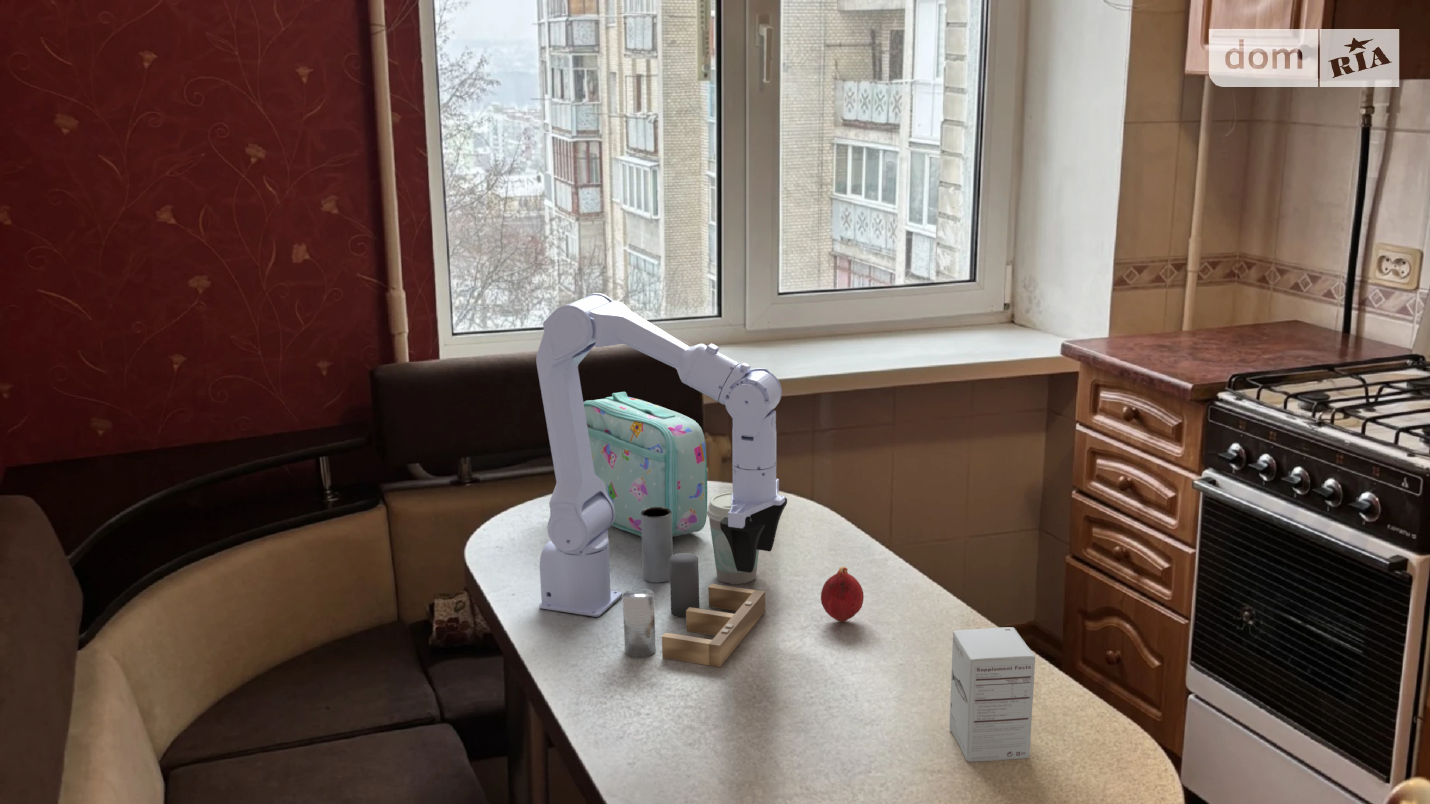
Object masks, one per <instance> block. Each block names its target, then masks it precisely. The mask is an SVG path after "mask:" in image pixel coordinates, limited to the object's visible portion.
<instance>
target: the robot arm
mask: <svg viewBox="0 0 1430 804" xmlns="http://www.w3.org/2000/svg"><path fill="white" fill-rule="evenodd" d="M542 327H543V334H542V337H541V341H540V344H539V346H538V349H537V350H538V351H537V353H536V357H535V358H536V360H535V361H536V362H535V363H536V368H537V369H536V370H537V375H538V380H539V388H540V391H541V392H540V393H541V399H542V404H543V410H544V416H545V421H546V422H545V423H546V428H547V434H548V440H549V446H550V452H551V458H552V464H553V469H554V471H553V472H554V475H555V481H556V482H555V483H556V484H555V487H554V489H553V491H552V495H551V497H550V500H549V502H548V504H549V512H550V513H549V518H548V521H547V535H548V539H549V540H548V541H547V542H546V544H545V545H544V547H543V548H542V550H541V554H540V558H539V579H540V580H539V581H540V596H541V602H540V603H539V604H538V607H539V609H543V610H550V611H555V612H561V613H562V612H563V613H569V614H575V615H581V616H589V617H595V618H598V617H600V616H601V615H603V614H604V613H605V612H606V611H607V610H608V609H609V608H610V607H612V606H613V605H614V604H615V602H617V601H618V600H619V599H620V598H621V597H623V592H621V591H616V590H612V589H611V569H610V565H611V564H610V544H609V530H608V529H609V528H611V527H612V526H611V525H612V524H613V522H614V519H615V508H614V505H613V503H612V501H611V500H610V498H609V497H608V495H607V492H606V489H605V483H604V482H603V481H602V480H601V479H600V478H598V477H597V476H596V475H595V472H594V465H593V459H592V453H591V447H590V441H589V434H588V428H587V422H586V416H585V409H584V403H583V402H584V398H583V393H582V385H581V379H580V378H581V377H580V372H579V365H580V363H581V362H582V361H583V360H584V358H586V356H587V355H588V354H589V353H590V351H592V348H594V347H596V348H603V347H610V346H616V345H625V346H627V347H629V348H631V349H634V350H636V351H639V353H642V354H644V355H646V356H649V357H651V358H653V359H655V360H657V361H659V362H662V363H663V364H665V365H667V366H670V367H672V368H674V369H676V371H677V374H678V376H679V379H680V381H681V383H683V384H685V385H687V386H689V387H690V388H693V389H694V390H696V391H698V392H699V393H701V394H703V395H705V396H707V397H709V398H711V399H713V400H714V401H716V402H718V403H720V404H721V405H725V409H726V411H727V412H728V414H729V415H730V417H731V418H732V431H731V433H732V437H731V438H732V439H731V441H732V451H731V452H732V492H733V493H732V495H731V510H730V511H729V512H728V517H724V518H723V519H722V520H721V521H720V528H721V530H722V532H723V533H724V535H725V536H726V538H727V540H728V542H729V545H730V548H731V551H732V554H733V558H734V562H735V566H736V569H737V571H742V572H749V573H751V572H752V571H753V569H754V565H755V559H756V551H757V550H759V551H764V552H771V551H772V550H773V547H774V543H775V539H776V534H777V530H778V525H779V522H780V519H781V517H782V513H783V512H784V509H785V507H787V504H788V498H787V497H785V496H784V495H779V494H778V493H780V479H779V478H777V411H776V410H774V409H775V408H776V407H777V406H778V404H779V403H780V401H781V399H782V395H783V394H782V393H783V390H782V385H781V383H780V380H779V379H778V377H776V376H775V374H773V373H772V372H770V371H769V369H768V368H764V367H756V368H751V365H750V364H748V363H747V362H743V363H740V362H738V361H736V360H735V359H732V358H731V357H729V356H727V355H725V354H724V353H721V352H720V351H719V349H720V346H718V345H716V344H714V343H712V342H711V343H710V344H707V345H706V344H705V343H698V344H695V345H691V346H689V345H688V344H687V343H684V342H683V341H682V340H679V339H678V338H676V337H674V336H673V335H672V334H669V333H668V332H666V331H665V330H664V329H661V328H660V327H658V326H657V325H655V324H653V323H652V322H651V321H648V320H647V319H645V318H643V317H641V316H640V315H638V314H637V313H635V312H633V311H632V310H631V309H630V308H629V307H628V306H627V305H626V304H625V303H623V302H621V301H618V300H613V299H612V298H611V297H610V296H608V295H606V294H603V293H601V292H600V293H599V292H593V293H590V294H588V295H586V296H585V297H583V298H581V299H579V300H576V301H573V302H571V303H567V304H563V305H561V306H559V307H557V308H556V309H555V310H554V311H553V312H552V313H551V314H550V315H549V316H548V317H547V318H546V319H545V320H544V321H543V323H542ZM749 516H750V517H749Z"/></svg>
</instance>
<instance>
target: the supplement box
mask: <svg viewBox="0 0 1430 804" xmlns="http://www.w3.org/2000/svg"><path fill="white" fill-rule="evenodd" d="M951 651H952V655H951V656H952V657H951V678H950V699H949V700H950V704H949V722H948V723H949V726H948V727H949V730H950V732H951V733H952V735H953V737H954V739H955V740H956V742H957V743H958V746H959V748H960V750H961V751H962V754H963V756H964V759H965V760H966V761H967V762H968V763H973V762H975V763H977V762H990V761H991V762H992V761H1006V760H1022V759H1028V758H1030V756H1031V755H1030V754H1031V737H1032V736H1031V734H1032V719H1033V700H1034V689H1035V688H1034V686H1035V685H1034V684H1035V673H1036V672H1035V670H1036V669H1035V668H1036V667H1035V666H1036V655H1035V654H1034V653H1033V651H1032V650H1031V648H1030V647H1029V646H1028V645H1027V644H1026V642H1025V640H1024V639H1023V638H1022V637H1021V635H1020V634H1019V632H1018V631H1017V629H1016V628H1015V627H1010V626H1009V627H1008V626H1007V627H1006V626H1005V627H1003V626H1002V627H989V628H988V627H986V628H973V629H958V630H957V629H956V630H953V631H952V650H951Z"/></svg>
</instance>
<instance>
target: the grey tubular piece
mask: <svg viewBox="0 0 1430 804" xmlns="http://www.w3.org/2000/svg"><path fill="white" fill-rule="evenodd" d="M641 535H642V537H641V554H642V555H641V558H642V559H641V561H642V577H643V579H644V581H646V582H650V583H665V582H668V581H670V561H669V559H670V557H671V556H673V555H674V552H673V551H674V550H673V537H672V512H671V510H670V509H668V508H664V507H651V508H647V509H644V510H643V511H642V512H641Z"/></svg>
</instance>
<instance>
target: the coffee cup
mask: <svg viewBox="0 0 1430 804" xmlns="http://www.w3.org/2000/svg"><path fill="white" fill-rule="evenodd" d="M732 493H733V491H732V492H724V493H723V492H722V493H720V494H715V496H713V497H711V499H709V500H710V501H709V504H708V505H707V517H708V519H709V528H710V536H711V542H712V549H713V555H714V564H715V565H714V566H715V570H716V577H717V579H718V580H719V581H721V582H723V583H726V584H731V583H732V585H734V584H735V585H739V584H741V583H742V584H747V583H749V582H752V581H753V579H754V580H755V579H756V578H757V570H758V562H759V552H760V550H757V551H756V559H755V565H754V569H753V571H752V572H751V573H749V572H742V571H737V569H736V566H735V562H734V558H733V554H732V551H731V548H730V545H729V542H728V540H727V538H726V536H725V535H724V533H723V532H722V530H721V528H720V521H721V520H722V519H723V518H724V517H728V512H729V511H730V510H731V495H732ZM749 517H750V516H749ZM742 584H741V585H742Z"/></svg>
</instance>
